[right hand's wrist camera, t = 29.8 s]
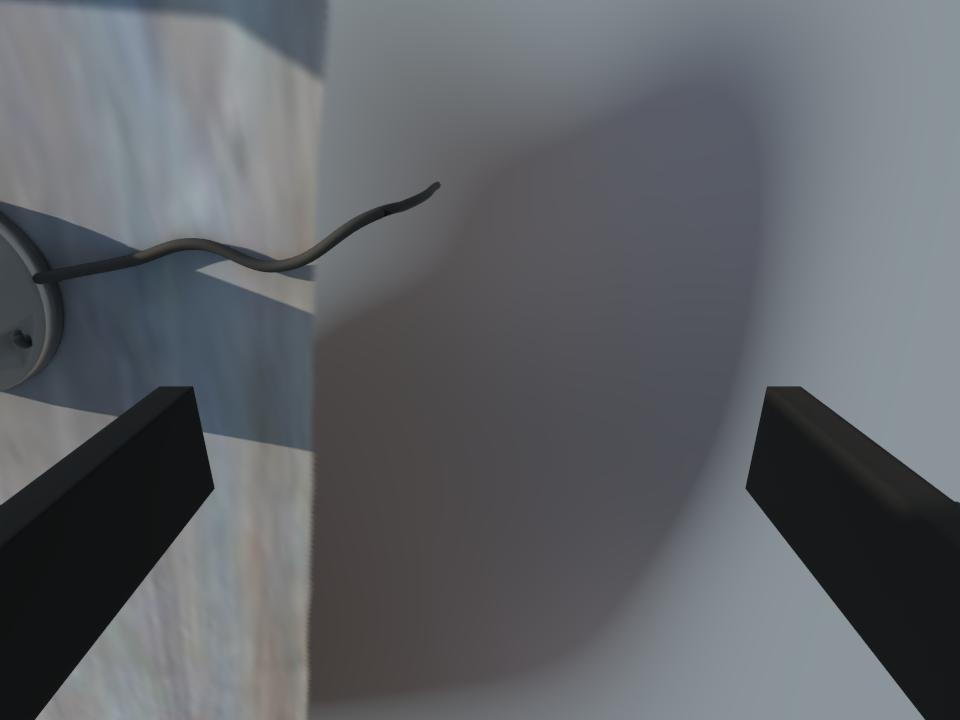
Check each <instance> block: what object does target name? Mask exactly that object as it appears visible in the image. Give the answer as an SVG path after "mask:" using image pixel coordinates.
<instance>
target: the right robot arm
mask: <svg viewBox="0 0 960 720" xmlns="http://www.w3.org/2000/svg"><path fill="white" fill-rule="evenodd" d="M440 186H441V184H440V183H439V182H435V183H433V184H432V185H430V186H429V187H428V188H427V189H426V190H424V191H423V192H421V193H419V194H417V195H415V196H412V197H410V198H408V199H405V200H403V201H400V202H395V203H390V204H386V205H382V206H379V207H377V208H374V209H372V210H369V211H367V212H365V213H363V214H361V215H359V216H357V217H355V218H353V219H352V220H350V221H348V222H347V223H345V224H344V225H342V226H341V227H339V228H338V229H337V230H335V231H334V232H333V233H331V234H330V235H329V236H327V237H326V238H325V239H324V240H322V241H321V242H320V243H318V244H317V245H315V246H314V247H313V248H311V249H309V250H308V251H306V252H304V253H302V254H300V255H298V256H295V257H293V258H289V259H285V260H280V261H262V260H258V259H254V258H251V257H249V256H247V255H244V254H242V253H240V252H238V251H236V250H234V249H232V248H230V247H227V246H225V245H223V244H220V243H217V242H214V241H211V240H206V239H198V238H185V239H177V240H173V241H169V242H165V243H163V244H160V245H157V246H155V247H152V248H150V249H147V250H144V251H142V252H139V253H135V254H132V255H128V256H123V257H119V258H114V259H108V260H103V261H98V262H92V263H87V264H81V265H76V266H71V267H66V268H61V269H56V270H50V269H49V267H48V265H47V263H46V262H45V260H44V258H43V257H42V255H41V254H40V253H39V251H38V250H37V248H36V247H35V246H34V245H33V243H32V242H31V241H30V240H29V239H28V237H27V236H26V235H25V234H24V233H23V232H22V231H21V230H20V229H19V228H18V227H17V226H16V225H14V224H13V223H12V222H11V221H10V220H9V219H8V218H6V217H5V216H4V215H2V214H1V213H0V392H2V391H5V390H7V389H9V388H12V387H14V386H16V385H17V384H19V383H21V382H23V381H25V380H27V379H29V378H31V377H32V376H34V375H36V374H37V373H38V372H40V371H41V370H42V369H43V368H44V367H45V366H46V365H47V364H48V363H49V361H50V360H51V359H52V357H53V356H54V354H55V352H56V350H57V348H58V346H59V343H60V339H61V336H62V329H63V309H62V302H61V297H60V294H59V290H58V287H57V284H56V281H61V280H66V279H71V278H76V277H81V276H86V275H92V274H97V273H102V272H108V271H113V270H118V269H123V268H128V267H132V266H136V265H140V264H143V263H146V262H149V261H152V260H154V259H157V258H160V257H162V256H165V255H168V254H170V253H174V252H178V251H183V250H205V251H210V252H213V253H216V254H219V255H221V256H223V257H226V258H228V259H230V260H232V261H234V262H236V263H238V264H241V265H243V266H245V267H248V268H251V269H254V270H257V271H262V272H283V271H289V270H293V269H297V268H299V267H302V266H305V265H307V264H309V263H311V262H313V261H314V260H316V259H317V258H319V257H320V256H322V255H323V254H325V253H326V252H328V251H329V250H330V249H332V248H333V247H334V246H336V245H337V244H338V243H339V242H341V241H342V240H344V239H345V238H346V237H348V236H349V235H350V234H352V233H353V232H355V231H357V230H358V229H360V228H362V227H364V226H366V225H368V224H369V223H372V222H374V221H376V220H378V219H381V218H383V217H386V216H389V215H392V214H395V213H399V212H403V211H406V210H408V209H411V208H413V207H415V206H417V205H419V204H421V203H422V202H424V201H426V200H427V199H429V198H430V197H431V196H432V195H433V194H434V192H435V191H436V190H438V189H439V188H440ZM213 490H214V484H213V479H212V474H211V469H210V465H209V460H208V455H207V450H206V446H205V441H204V436H203V432H202V427H201V422H200V417H199V413H198V408H197V403H196V398H195V394H194V389H193V387H158V388H157V389H156V390H154V391H153V392H152V393H150V394H149V395H148V396H146V397H145V398H144V399H142V400H141V401H140V402H138V403H137V404H135V405H134V406H133V407H131V408H130V409H129V410H127V411H126V412H125V413H123V414H122V415H121V416H119V417H118V418H117V419H115V420H114V421H113V422H111V423H110V424H109V425H107V426H106V427H105V428H103V429H102V430H101V431H99V432H98V433H97V434H95V435H94V436H93V437H91V438H90V439H89V440H87V441H86V442H85V443H83V444H82V445H81V446H79V447H78V448H77V449H75V450H74V451H73V452H71V453H70V454H69V455H67V456H66V457H65V458H63V459H62V460H61V461H59V462H58V463H57V464H55V465H54V466H53V467H51V468H50V469H49V470H47V471H46V472H45V473H43V474H42V475H41V476H39V477H38V478H37V479H35V480H34V481H33V482H31V483H30V484H29V485H27V486H26V487H25V488H23V489H22V490H21V491H19V492H18V493H17V494H15V495H14V496H13V497H11V498H10V499H9V500H7V501H6V502H5V503H3V504H2V505H0V720H35V719H36V718H37V716H38V715H39V714H40V712H41V711H42V710H43V709H44V707H45V706H46V705H47V703H48V702H49V701H50V699H51V698H52V697H53V696H54V694H55V693H56V692H57V690H58V689H59V688H60V687H61V685H62V684H63V683H64V681H65V680H66V679H67V678H68V676H69V675H70V674H71V672H72V671H73V670H74V669H75V667H76V666H77V665H78V663H79V662H80V661H81V660H82V658H83V657H84V656H85V654H86V653H87V652H88V651H89V649H90V648H91V647H92V645H93V644H94V643H95V642H96V640H97V639H98V638H99V636H100V635H101V634H102V633H103V631H104V630H105V629H106V627H107V626H108V625H109V624H110V622H111V621H112V620H113V618H114V617H115V616H116V615H117V613H118V612H119V611H120V609H121V608H122V607H123V606H124V604H125V603H126V602H127V600H128V599H129V598H130V597H131V595H132V594H133V593H134V591H135V590H136V589H137V588H138V586H139V585H140V584H141V582H142V581H143V580H144V578H145V577H146V576H147V575H148V573H149V572H150V571H151V569H152V568H153V567H154V566H155V564H156V563H157V562H158V560H159V559H160V558H161V557H162V555H163V554H164V553H165V551H166V550H167V549H168V548H169V546H170V545H171V544H172V542H173V541H174V540H175V539H176V537H177V536H178V535H179V533H180V532H181V531H182V530H183V528H184V527H185V526H186V524H187V523H188V522H189V521H190V519H191V518H192V517H193V515H194V514H195V513H196V512H197V510H198V509H199V508H200V506H201V505H202V504H203V503H204V501H205V500H206V499H207V497H208V496H209V495H210V494H211V492H212V491H213ZM746 490H747V491H748V492H749V494H750V495H751V496H752V497H753V499H754V500H755V501H756V503H757V504H758V505H759V506H760V508H761V509H762V510H763V511H764V513H765V514H766V515H767V517H768V518H769V519H770V521H771V522H772V523H773V524H774V526H775V527H776V528H777V530H778V531H779V532H780V533H781V535H782V536H783V537H784V539H785V540H786V541H787V542H788V544H789V545H790V546H791V548H792V549H793V550H794V551H795V553H796V554H797V555H798V557H799V558H800V559H801V560H802V562H803V563H804V564H805V566H806V567H807V568H808V569H809V571H810V572H811V573H812V575H813V576H814V577H815V578H816V580H817V581H818V582H819V584H820V585H821V586H822V588H823V589H824V590H825V591H826V593H827V594H828V595H829V597H830V598H831V599H832V600H833V602H834V603H835V604H836V605H837V607H838V608H839V609H840V611H841V612H842V613H843V615H844V616H845V617H846V618H847V620H848V621H849V622H850V624H851V625H852V626H853V627H854V629H855V630H856V631H857V633H858V634H859V635H860V636H861V638H862V639H863V640H864V642H865V643H866V644H867V645H868V647H869V648H870V649H871V651H872V652H873V653H874V654H875V656H876V657H877V658H878V660H879V661H880V662H881V663H882V665H883V666H884V667H885V669H886V670H887V671H888V672H889V674H890V675H891V676H892V678H893V679H894V680H895V681H896V683H897V684H898V685H899V687H900V688H901V689H902V690H903V692H904V693H905V694H906V696H907V697H908V698H909V699H910V701H911V702H912V703H913V705H914V706H915V707H916V708H917V710H918V711H919V712H920V713H921V715H922V716H923V717H924V719H925V720H960V503H959V502H954V501H953V500H951V499H950V498H949V497H947V496H946V495H945V494H943V493H942V492H941V491H939V490H938V489H937V488H935V487H934V486H933V485H931V484H930V483H929V482H927V481H926V480H925V479H923V478H922V477H921V476H919V475H918V474H917V473H915V472H914V471H913V470H911V469H910V468H909V467H907V466H906V465H905V464H903V463H902V462H901V461H899V460H898V459H897V458H895V457H894V456H893V455H891V454H890V453H889V452H887V451H886V450H885V449H883V448H882V447H881V446H879V445H878V444H877V443H875V442H874V441H873V440H871V439H870V438H868V437H867V436H866V435H865V434H863V433H862V432H861V431H859V430H858V429H857V428H855V427H854V426H853V425H851V424H850V423H849V422H847V421H846V420H845V419H843V418H842V417H841V416H839V415H838V414H836V413H835V412H834V411H832V410H831V409H830V408H829V407H827V406H826V405H824V404H823V403H822V402H820V401H819V400H818V399H816V398H815V397H814V396H812V395H811V394H810V393H808V392H807V391H806V390H804V389H803V388H802V387H767V389H766V394H765V398H764V403H763V408H762V413H761V418H760V422H759V427H758V432H757V436H756V441H755V446H754V450H753V455H752V460H751V465H750V470H749V474H748V479H747V484H746Z"/></svg>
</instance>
